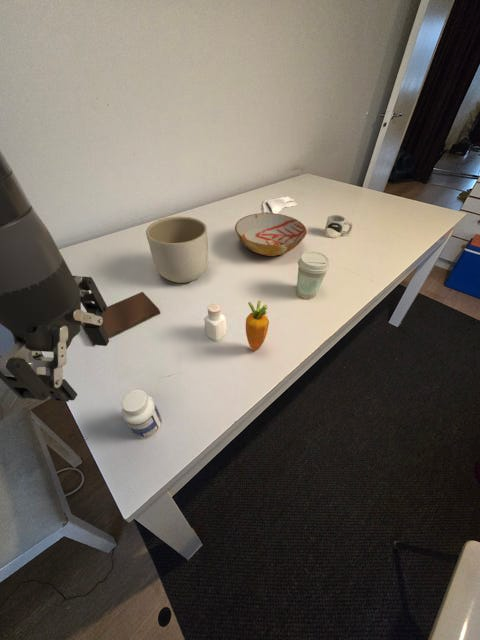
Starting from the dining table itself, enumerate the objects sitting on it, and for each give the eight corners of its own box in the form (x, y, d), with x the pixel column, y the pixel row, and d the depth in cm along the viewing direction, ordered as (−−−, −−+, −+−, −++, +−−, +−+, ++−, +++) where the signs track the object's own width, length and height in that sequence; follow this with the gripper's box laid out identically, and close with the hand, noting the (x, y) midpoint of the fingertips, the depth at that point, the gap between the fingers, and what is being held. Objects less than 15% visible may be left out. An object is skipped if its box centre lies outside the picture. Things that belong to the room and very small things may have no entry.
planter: (155, 292, 78) (142, 245, 67) (158, 261, 90) (148, 217, 79) (211, 287, 80) (208, 242, 69) (208, 257, 92) (205, 215, 81)
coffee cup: (287, 295, 78) (293, 260, 70) (299, 281, 83) (306, 247, 75) (313, 306, 75) (324, 271, 66) (324, 291, 80) (335, 256, 71)
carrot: (240, 348, 63) (241, 302, 53) (255, 339, 65) (260, 292, 55) (253, 362, 61) (257, 315, 50) (269, 352, 63) (276, 305, 52)
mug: (323, 237, 104) (327, 220, 99) (323, 229, 109) (328, 213, 104) (349, 240, 103) (355, 224, 98) (348, 232, 107) (354, 216, 103)
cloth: (281, 195, 136) (281, 190, 134) (302, 202, 129) (303, 198, 127) (246, 209, 122) (246, 204, 121) (268, 218, 116) (269, 213, 114)
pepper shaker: (216, 326, 68) (214, 298, 62) (227, 334, 67) (226, 306, 60) (205, 335, 66) (201, 307, 59) (216, 343, 64) (214, 315, 58)
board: (93, 346, 63) (91, 342, 62) (79, 323, 68) (77, 319, 67) (160, 313, 72) (159, 309, 70) (143, 295, 77) (142, 291, 76)
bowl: (253, 273, 85) (254, 252, 80) (224, 239, 102) (224, 219, 96) (316, 258, 93) (321, 237, 87) (280, 228, 109) (282, 208, 103)
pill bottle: (139, 409, 52) (125, 383, 45) (165, 413, 51) (155, 387, 45) (128, 437, 48) (110, 413, 41) (156, 441, 48) (142, 418, 41)
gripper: (28, 226, 29) (87, 327, 40) (-106, 316, 19) (23, 416, 30) (93, 230, 28) (134, 331, 40) (-8, 325, 18) (85, 423, 30)
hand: (86, 368), depth 35 cm, fingers open, 8 cm apart
